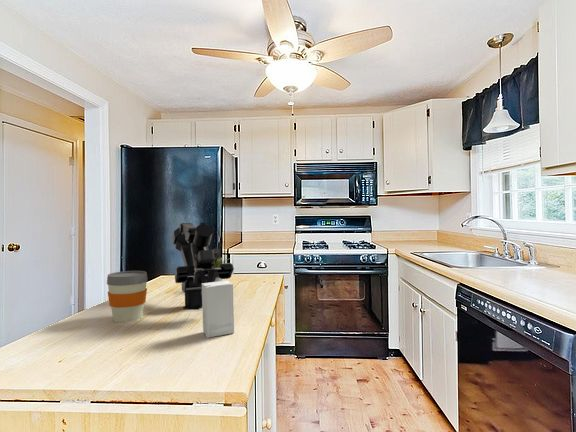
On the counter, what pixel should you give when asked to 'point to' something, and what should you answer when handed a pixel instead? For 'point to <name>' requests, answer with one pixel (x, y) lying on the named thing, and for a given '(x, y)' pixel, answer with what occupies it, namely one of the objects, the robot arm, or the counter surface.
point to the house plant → (218, 267)
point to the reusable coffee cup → (127, 294)
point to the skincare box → (218, 308)
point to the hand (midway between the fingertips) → (209, 294)
